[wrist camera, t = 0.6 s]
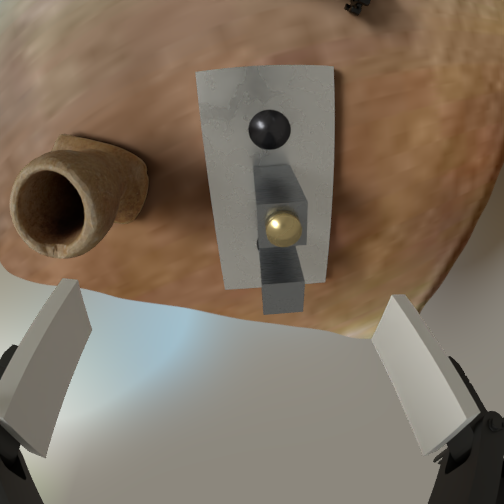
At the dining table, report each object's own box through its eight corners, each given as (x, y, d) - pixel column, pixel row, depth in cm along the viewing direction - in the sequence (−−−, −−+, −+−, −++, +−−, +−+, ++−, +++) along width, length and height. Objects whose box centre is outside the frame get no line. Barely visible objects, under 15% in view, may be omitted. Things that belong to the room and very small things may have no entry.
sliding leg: (290, 165, 30) (310, 207, 21) (290, 198, 32) (308, 251, 24) (253, 167, 30) (257, 210, 21) (255, 201, 32) (259, 255, 24)
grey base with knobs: (329, 66, 25) (372, 63, 16) (322, 275, 41) (342, 336, 32) (197, 72, 26) (172, 69, 16) (225, 282, 41) (221, 346, 32)
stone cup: (166, 141, 30) (112, 192, 18) (139, 226, 36) (96, 306, 23) (60, 109, 26) (-25, 143, 14) (47, 191, 32) (-19, 251, 20)
